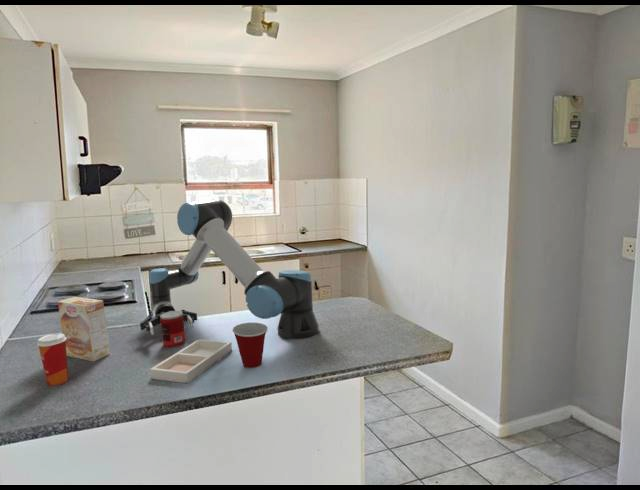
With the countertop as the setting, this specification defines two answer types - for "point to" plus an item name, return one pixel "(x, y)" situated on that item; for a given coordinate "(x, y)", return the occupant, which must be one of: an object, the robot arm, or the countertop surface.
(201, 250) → the robot arm
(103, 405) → the countertop surface
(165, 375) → the divided tray
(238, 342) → the plastic cup
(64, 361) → the paper cup
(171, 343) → the canned food
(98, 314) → the coffeecake box
